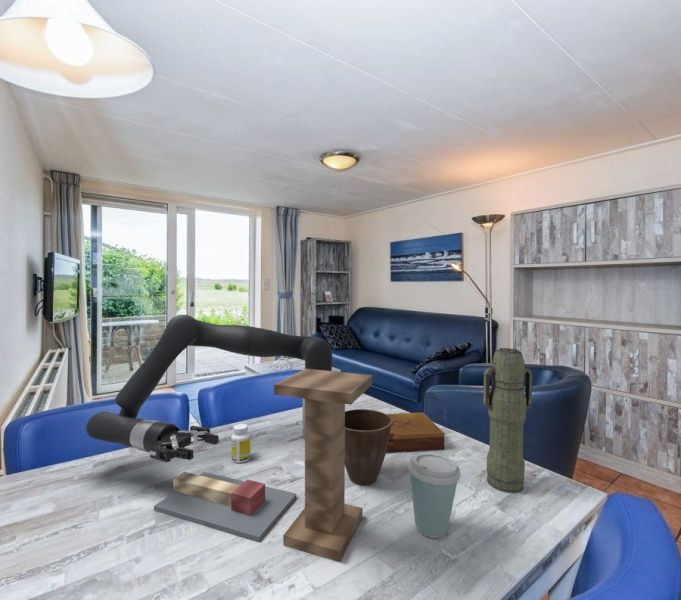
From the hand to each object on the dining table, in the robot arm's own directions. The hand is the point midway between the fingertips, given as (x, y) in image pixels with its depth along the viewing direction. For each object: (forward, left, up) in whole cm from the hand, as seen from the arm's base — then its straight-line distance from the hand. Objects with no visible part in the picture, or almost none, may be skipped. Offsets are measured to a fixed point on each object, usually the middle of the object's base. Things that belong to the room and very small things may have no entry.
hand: (205, 447), depth 86 cm
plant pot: (-36, +17, -13) cm, 41 cm away
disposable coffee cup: (-34, +41, -13) cm, 54 cm away
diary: (-62, +7, -13) cm, 63 cm away
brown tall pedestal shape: (-16, +27, -12) cm, 34 cm away
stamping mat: (-3, +5, -12) cm, 14 cm away
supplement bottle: (-15, -13, -13) cm, 23 cm away
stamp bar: (-1, +3, -11) cm, 12 cm away
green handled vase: (-63, +42, -13) cm, 76 cm away
